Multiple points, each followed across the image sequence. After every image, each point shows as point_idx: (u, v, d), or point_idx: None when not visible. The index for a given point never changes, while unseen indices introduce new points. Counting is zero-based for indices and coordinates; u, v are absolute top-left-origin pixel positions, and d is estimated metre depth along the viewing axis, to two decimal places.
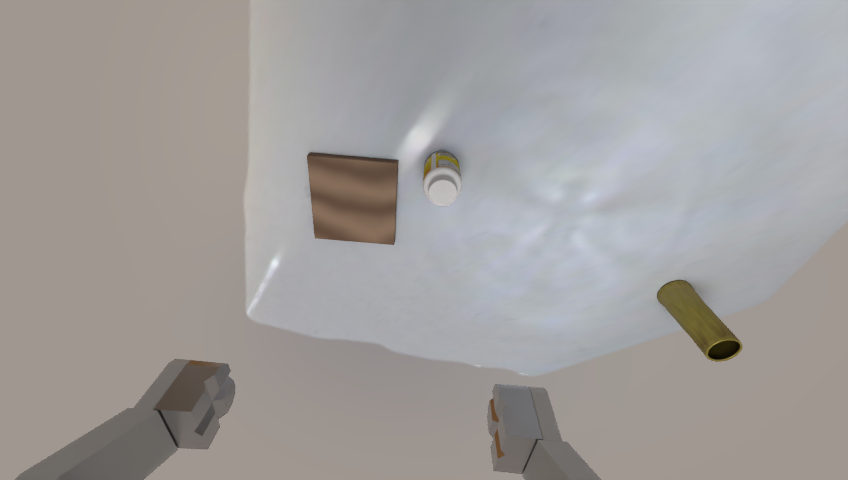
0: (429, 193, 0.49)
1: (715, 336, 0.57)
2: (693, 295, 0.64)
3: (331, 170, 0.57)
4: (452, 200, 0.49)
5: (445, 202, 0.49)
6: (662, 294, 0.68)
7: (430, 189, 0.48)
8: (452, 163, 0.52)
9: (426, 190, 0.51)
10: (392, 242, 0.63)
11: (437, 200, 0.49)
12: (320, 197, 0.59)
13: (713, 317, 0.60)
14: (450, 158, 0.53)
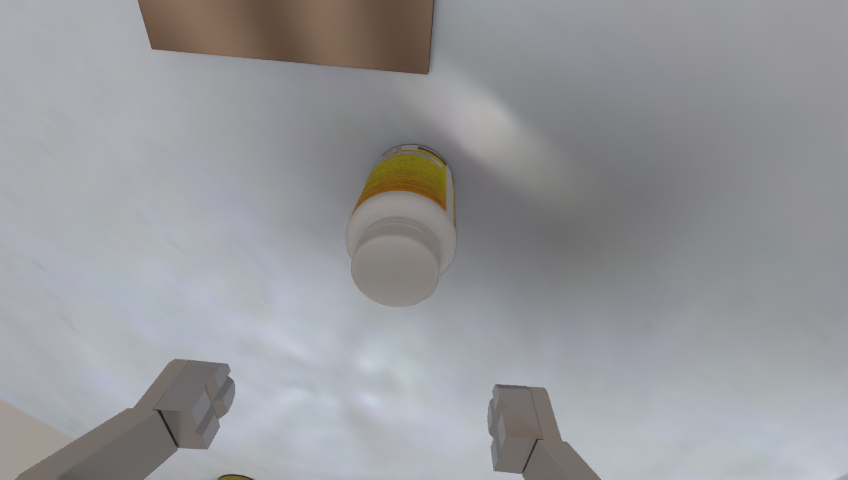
0: (392, 239, 0.15)
1: None
2: None
3: None
4: (374, 297, 0.17)
5: (366, 281, 0.16)
6: None
7: (407, 242, 0.15)
8: None
9: (388, 208, 0.16)
10: (158, 43, 0.19)
11: (370, 261, 0.15)
12: None
13: None
14: None
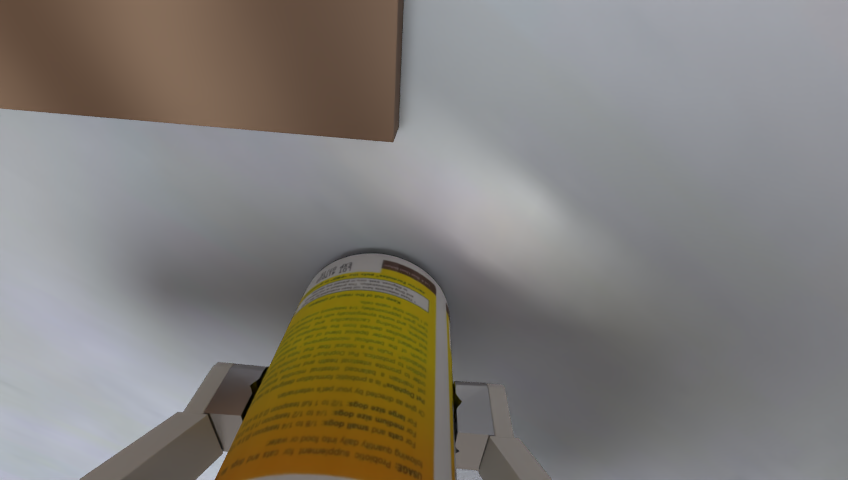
0: None
1: None
2: None
3: None
4: None
5: None
6: None
7: None
8: None
9: None
10: None
11: None
12: None
13: None
14: None
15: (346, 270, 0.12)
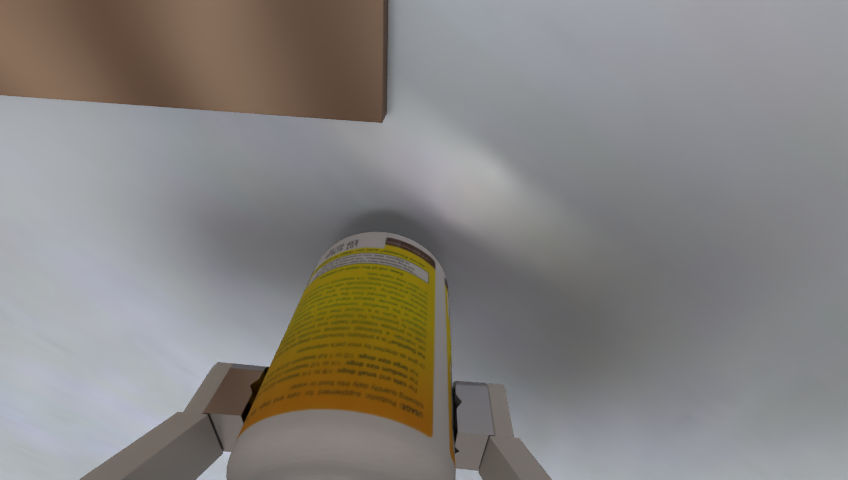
0: None
1: None
2: None
3: None
4: None
5: None
6: None
7: None
8: None
9: (300, 462, 0.07)
10: None
11: None
12: None
13: None
14: None
15: (353, 246, 0.13)
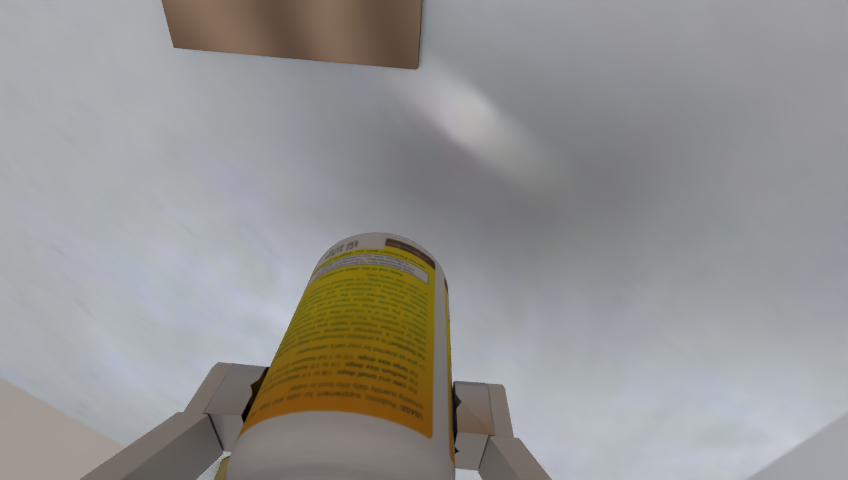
0: None
1: None
2: None
3: None
4: None
5: None
6: None
7: None
8: None
9: (300, 463, 0.07)
10: (179, 43, 0.22)
11: None
12: None
13: None
14: None
15: (352, 247, 0.13)
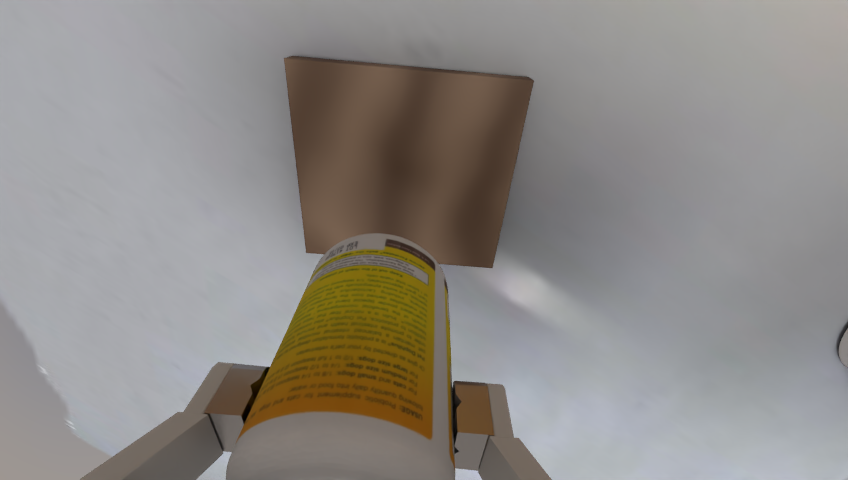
0: None
1: None
2: None
3: (488, 138, 0.24)
4: None
5: None
6: None
7: None
8: None
9: (300, 464, 0.07)
10: (311, 250, 0.29)
11: None
12: (416, 97, 0.22)
13: None
14: None
15: (352, 248, 0.13)
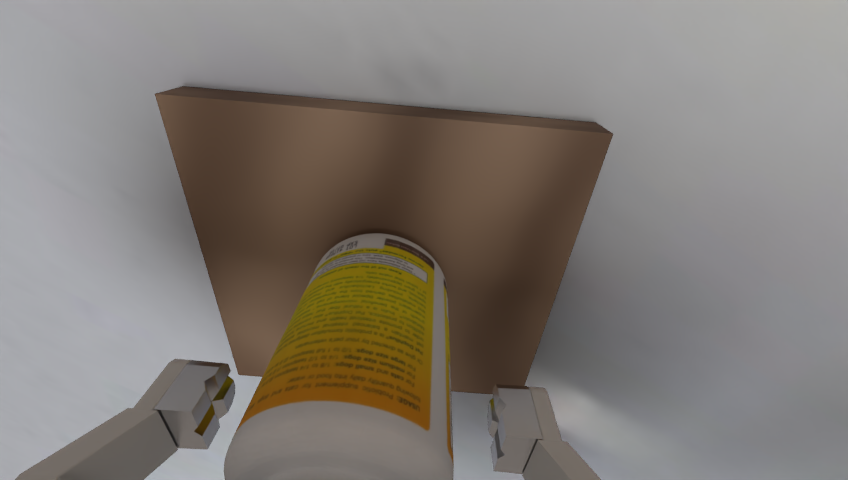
0: None
1: None
2: None
3: (524, 225, 0.14)
4: None
5: None
6: None
7: None
8: None
9: (297, 453, 0.07)
10: (246, 371, 0.19)
11: None
12: (400, 160, 0.13)
13: None
14: None
15: (352, 247, 0.13)
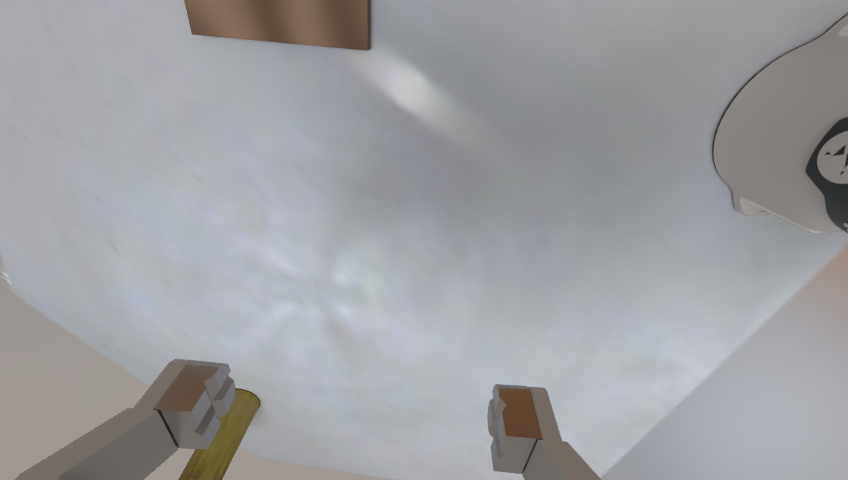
0: None
1: None
2: (247, 424, 0.57)
3: None
4: None
5: None
6: (236, 395, 0.58)
7: None
8: None
9: None
10: (196, 30, 0.31)
11: None
12: None
13: (229, 460, 0.52)
14: None
15: None
